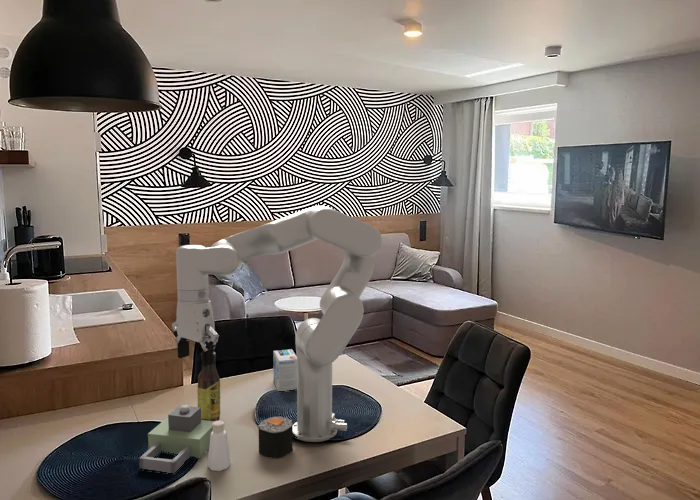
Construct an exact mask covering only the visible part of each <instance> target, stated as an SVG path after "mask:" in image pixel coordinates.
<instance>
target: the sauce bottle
mask: <svg viewBox="0 0 700 500" xmlns="http://www.w3.org/2000/svg"><path fill="white" fill-rule="evenodd" d="M200 357H201V360H202V352H201V353H200ZM216 358H217V354H216V352H215V351H214V363H213V364H211V365H208V366H205V367H204V366H202V365H201V371H200V372H199V373H198V376H197V407H201V420H205V421H220V420H221V419H220V418H221V416H220V415H221V378H220V376H219V374H218V370H217V367H216Z"/></svg>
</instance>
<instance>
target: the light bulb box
mask: <svg viewBox="0 0 700 500" xmlns="http://www.w3.org/2000/svg"><path fill="white" fill-rule="evenodd" d="M272 355H273V357H272V359H273V365H272V366H273V367H272V368H273V370H272V371H273V372H272V373H273V376H272V377H273V382H274V384H275V387H276V391H277V392H278V391H285V392H287V391H286V390H293V389H297V354H296V353H295V352H294V350H293V349H292V348H291V349H290V348H289V349H281V350H273V353H272Z"/></svg>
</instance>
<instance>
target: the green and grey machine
mask: <svg viewBox="0 0 700 500" xmlns="http://www.w3.org/2000/svg"><path fill="white" fill-rule="evenodd" d="M213 422H215V421H205V420H201V407H198V406H192V405H191V406H190V405H189V404H183V405H178V406H177V407H176V408H175V409H173V411H171V412H170V413H169V414H168V415H167V417H166V418H165V419H164V420H163V421H162V422H160V423H159V424H157V426H155V427H154V428H152V429H151V431H150V432H148V433H147V440H148V441H147V442H148V443H147V444H148V446H147V448H148V449H147V450H146V451H145V452H144V453H143V454H142V455H141V456H140V457H139V458H138V460H139V462H138V463H139V469H140V468H142V469H148V470H156V471H162V472H167V473H166V474H168V473H173V474H172V475H176V473H177V472H178V471H179V470H180V469H181V468H182V467H183V466H184V465H185V464H184V462H185V461H186V460H187V459H188V458H189V457H190V456H195V457H196V458H195V459H202V457H203V456H204V455H205V454H206V452H207V451H209V445H210V435H211V433H212V431H213V425H212V423H213ZM161 451H164V452H170V453H175V454H178V455H177V456H176V455H175V457H173V458H172V459H169V458H160V457H157V458H154V457H155V456H156V455H157V454H159V452H161ZM183 464H184V465H183ZM182 465H183V466H182ZM181 466H182V467H181ZM180 467H181V468H180ZM179 468H180V469H179ZM178 469H179V470H178ZM177 470H178V471H177ZM176 471H177V472H176ZM175 472H176V473H175Z"/></svg>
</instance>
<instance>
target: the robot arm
mask: <svg viewBox="0 0 700 500" xmlns="http://www.w3.org/2000/svg"><path fill="white" fill-rule="evenodd" d="M317 240H319V241H322V242H323V243H326V244H328V245H330V246H332V247H335V248H337V249H340V250H342V251H343V254H344V257H343V261H342V263H341V266H340V268H339V269H338V271H337V273H336V275H335V276H334V277H333V279H332V281H331V282H330V284H329V286H328V287H327V288H326V290H325V291H324V292H323V294H322V296H321V298H320V300H319V308H320V311H321V313H322V316H321V319H320V318H316V317H310V318H307V319H305V320H303V321H302V322H301V323H300V324H299V326H298V327H297V329H296V333H295V351H296V353H295V355H296V356H297V390H296V409H297V411H296V420H297V421H296V422H294V423H293V426H292V433H293V434H294V435H295V436H296V437H297V438H296V437H295V438H296V439H297V440H300V441H302V442H308V443H311V442H312V443H320V442H324V441H329V440H330V438H331V439H333V438H334V437H335V436H336V435H337V433H338V431H345V432H346V431H348V423H347V422H346V420H345V419H337V418H336V417H335V415H336V414H335V413H334V412H333V362H335V361H336V360H337V359H338V358H339V357H340V355H341V354H342V353H343V351H344V350H345V348H346V347H347V345H348V343H349V342H350V341H351V339H352V337H353V336H354V334H355V333H356V331H357V330H358V328H359V327H360V325H361V323H362V321H363V318H364V313H365V309H364V304H363V302H362V300H361V296H362V294H363V292H364V291H365V289H366V287H367V285H368V284H369V282H370V279H371V278H372V276H373V273H374V269H375V255H377V253H378V252H379V251H380V250H381V248H382V244H383V237H382V235H381V232H380V231H379V229H378V228H376V227H375V226H373V225H371V224H369V223H366V222H364V221H362V220H359V219H357V218H355V217H352V216H349V215H346V214H344V213H343V212H341V211H338V210H337V209H334V208H332V207H328V206H324V205H319V204H318V205H314V206H311V207H308V208H304V209H302V210H300V211H296V212H294V213H292V214H290V215H287V216H284V217H282V218H279V219H276V220H274V221H271V222H268V223H264V224H262V225H260V226H257V227H253V228H250V229H247V230H244V231H241V232H238V233H236V234H232V235H230V236H227V237H225V238H222V239H220V240H218V241H215V242H214V243H213V244H212V245H211V246H210V247H205V246H204V245H201V244H185V245H180V246H178V248H177V249H176V252H175V259H176V260H175V264H176V286H177V290H176V291H177V303H176V312H175V313H176V314H175V316H176V320H175V321H174V322H173V323H171V326H172V329H173V330H172V331H173V335H174V337H175V342H176V343H177V345H176V348H177V358H178V359H183V358H186V357H189V356H190V341H192V342H196V343H199V344H200V345H201V348H202V351H201V353H202V359H201V367H202V366H204V367H205V366H208V365H211V364H213V363H214V352H215V351H214V350H215V349H216V346H217V345H218V340H219V337H220V334H219V333H217V331H216V330H215V329H216V327H215V317H214V309H213V306H212V301H211V300H210V288H209V275H214V276H230V275H232V274H234V273H235V272H236V271H237V270H238V269H239V267H240V265H241V263H242V262H244V261H247V260H250V259H252V258H253V259H254V258H256V257H260V256H266V255H271V256H272V255H274V256H275V255H280V254H281V255H282V254H284V253H288V252H289V251H292V250H295V249H297V248H299V247H302V246H304V245H306V244H309V243H312V242H315V241H317ZM206 342H207V343H206Z"/></svg>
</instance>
